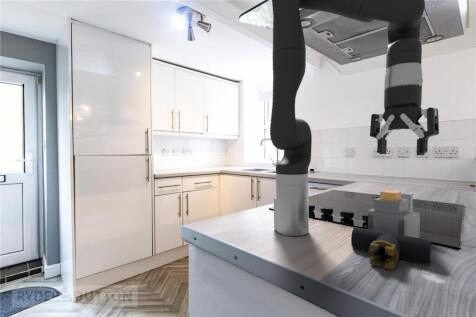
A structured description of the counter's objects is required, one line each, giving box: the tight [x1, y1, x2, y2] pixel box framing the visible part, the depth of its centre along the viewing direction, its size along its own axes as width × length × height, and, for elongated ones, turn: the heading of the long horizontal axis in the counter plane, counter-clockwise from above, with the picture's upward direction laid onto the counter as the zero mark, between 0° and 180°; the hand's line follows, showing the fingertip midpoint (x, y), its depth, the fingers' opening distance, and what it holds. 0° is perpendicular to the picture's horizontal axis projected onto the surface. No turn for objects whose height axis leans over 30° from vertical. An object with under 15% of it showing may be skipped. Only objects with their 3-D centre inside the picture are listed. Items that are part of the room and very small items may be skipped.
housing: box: [367, 197, 421, 238], centre depth 66 cm, size 8×12×11 cm
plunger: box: [379, 189, 402, 202], centre depth 64 cm, size 4×4×3 cm
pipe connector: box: [350, 226, 432, 270], centre depth 55 cm, size 12×5×15 cm
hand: (400, 154), depth 60 cm, fingers open, 8 cm apart
